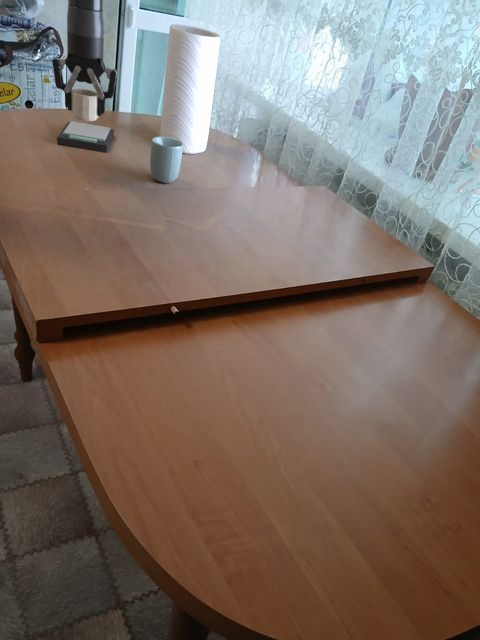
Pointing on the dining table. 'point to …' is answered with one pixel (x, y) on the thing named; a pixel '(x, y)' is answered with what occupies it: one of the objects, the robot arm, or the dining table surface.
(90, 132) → the scale
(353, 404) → the dining table surface
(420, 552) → the dining table surface
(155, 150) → the cup
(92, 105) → the faceted beige tumbler
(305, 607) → the dining table surface
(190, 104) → the vase
